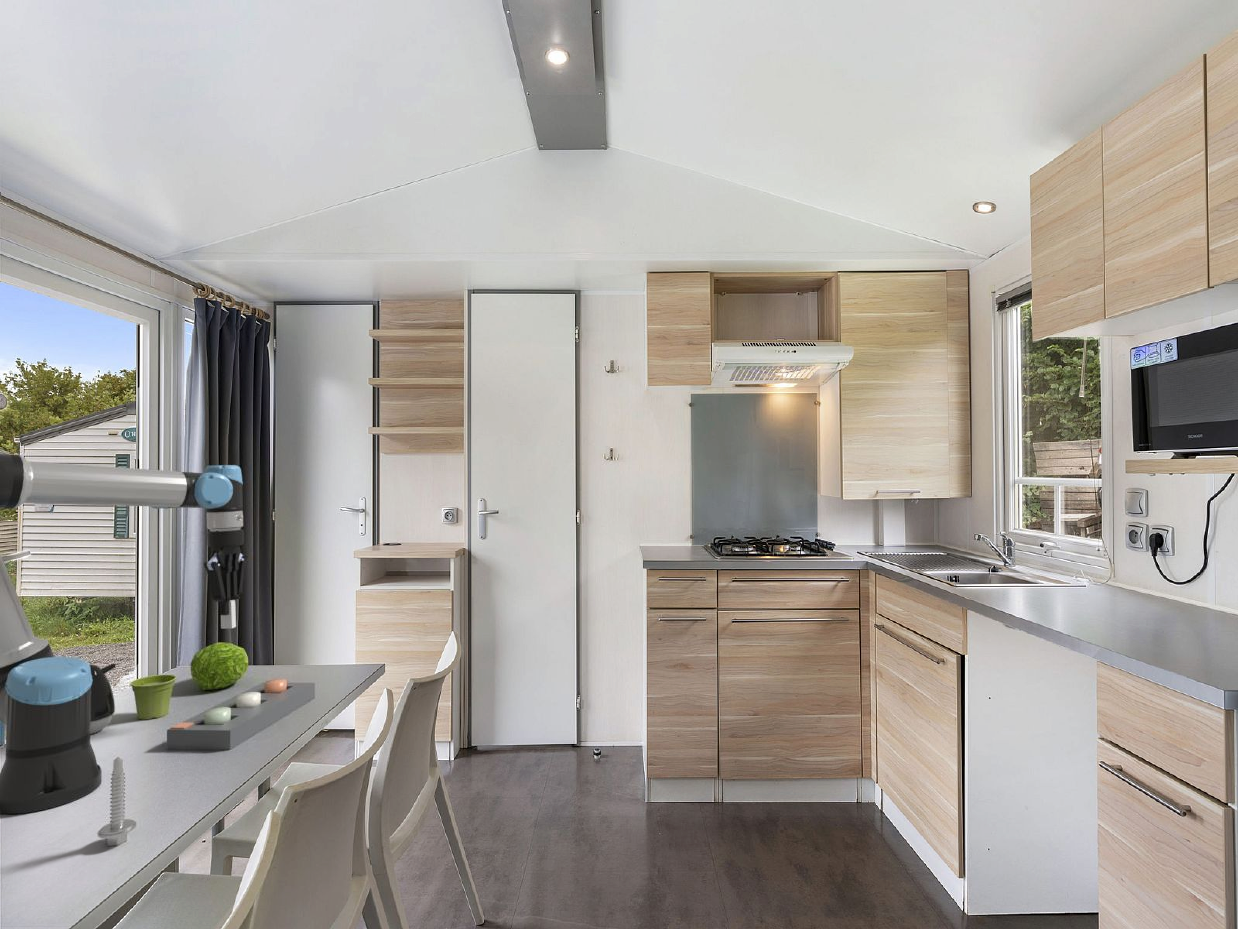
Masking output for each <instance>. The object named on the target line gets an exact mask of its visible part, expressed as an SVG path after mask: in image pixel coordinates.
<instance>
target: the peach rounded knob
mask: <svg viewBox="0 0 1238 929" xmlns="http://www.w3.org/2000/svg"><path fill="white" fill-rule="evenodd" d="M263 683H264V693H282V692H284V691H286V690H287V683H288V682H287V679H285V678H277V679H276V678H274V679H270V680H266V681H265V682H263Z"/></svg>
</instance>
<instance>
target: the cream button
mask: <svg viewBox="0 0 1238 929" xmlns="http://www.w3.org/2000/svg"><path fill="white" fill-rule="evenodd" d="M239 694H240V695H239ZM239 694H237V695H238V696H237V695H236V696H237V697H236V708H254V707H256V706H258V705H260V704H261V693H259V692H249V693H244V694H241V693H239Z"/></svg>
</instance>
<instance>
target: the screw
mask: <svg viewBox="0 0 1238 929" xmlns="http://www.w3.org/2000/svg"><path fill="white" fill-rule="evenodd" d="M123 761H124V759H123V758H121V757H119V756H118V757H116V758H115V759H113V764H112V765H113V768H112V769H113V770H112V774H111V778H110V780H111V782H110V784H111V786H109V787H110V788H111V790H109V791H110V792H111V793H110V796H111V797H110V798H109V799H110V800H111V801H109V803H110V804H111V805H109V807H110V810H109V811H111V812H110V813H109V815H110V817H109V819H111V820H110V821H109V823H107V824H105V825H104V826H102V827H101V828H100V829H99V830H98V831H97V835H96V836H97V838H100V839H106V843H107V845H106V846H107V847H112V846H113V847H116V846H119V845H121V844H123V843H126V842H127V841H128V834H129V833H130V832H131V831H133V830H135V829H136V828H137V822H136V820H133V819H131V818H128V819H125V817H126V815H125V814H126V811H125V809H126V807H125V806H126V803H125V802H126V800H125V798H126V796H125V794H126V792H125V791H126V788H125V787H126V784H125V783H126V780H125V779H126V773H125V772H124V767H123V765H124V764H123Z"/></svg>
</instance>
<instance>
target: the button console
mask: <svg viewBox="0 0 1238 929" xmlns="http://www.w3.org/2000/svg"><path fill="white" fill-rule="evenodd" d="M264 683H265V682H261V683H259V684H257V685H255V686H253V687H251V688H250V689H247V690H245V691H243V692H241V693H239V694H237V695H235V696H233V697H231V698H229V699H227V700H225V701H223V702H221V703H218V704H216V705H215V706H213V707H210V708H208V709H206V710H204V711H203V712H200V713H199V714H196V715H194V716H192V717H191V718H188V719H186V720H184V721H181V722H179V723H177V724H175V725H173V726H172V727H171V726H170V728H167V730H166V750H217V751H218V750H224V751H225V750H229V751H230V750H232V749H234V748H236V747H238V746H239V745H240V744H242V743H244V742H245V741H247V740H248V739H250V738H252V737H254V736H255V735H257V734H258V733H260V732H262V731H263V730H265V729H267V728H268V727H271V725H274V724H275V723H277V722H278V721H280V720H281V719H283V718H285V717H287V716H288V715H289V714H291V713H293V712H295V711H296V710H297V709H300V708H301V707H303V706H304V705H307V704H308V703H309V702H311V701H312V700H315V696H316V693H315V692H316V690H315V689H316V683H315V682H287V690H286V691H284V692H282V693H264ZM249 692H259V693H261V704H260V705H258V706H256V707H254V708H236V697H237V696H238V695H240V694H244V693H249ZM220 707H229V708H231V720H230V721H228V722H227V723H225V724H223V725H204V713H205V712H206V711H208V710H210V709H214V708H220Z"/></svg>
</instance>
